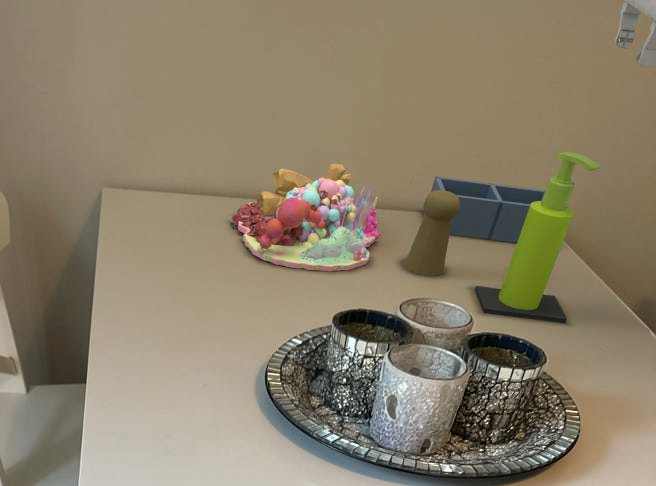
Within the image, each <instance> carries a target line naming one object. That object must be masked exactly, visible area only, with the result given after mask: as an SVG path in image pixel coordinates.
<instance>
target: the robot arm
mask: <svg viewBox="0 0 656 486" xmlns="http://www.w3.org/2000/svg"><path fill="white" fill-rule="evenodd" d="M623 2H624V3H623V5H622V7H621V9H620V17H619V18H620V19H619V26H618V31H617V34H616V37H615V40H614V45H615V46H616V47H618V48H619V49H629V48H631V47H632V46H633V43H634V41H635V37H636V35H637V32H636V28H637V24H638V20H639V17H640V15H642V14H643V16H646V17H647V18H649V19H650V20H651V21H652V22H651V25H650V28H649V32H650V33H649V35H648V36H647V38H646V41H645V42H644V44H643V45H641V46H640V48H639V50H638V55H637V56H636V62H637V64H638V65H640V66H641V67H647V68H651V67H652V66H655V64H656V0H623Z"/></svg>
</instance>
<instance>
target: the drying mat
mask: <svg viewBox="0 0 656 486" xmlns="http://www.w3.org/2000/svg"><path fill="white" fill-rule="evenodd" d="M500 290H501V288H498V287H490V286H481V285H475V287H474V291H475V293H476V296H477V299H478V301H479V304H480V307H481V309H482V312H483V313H485V314H494V315H502V316H510V317H515V318H516V317H517V318H525V319H533V320H541V321H549V322H557V323H565V324H567V320H568V318H567V316H566V314H565V312H564V310H563V308H562V307H561V304H560V302H559V301H558V299H557V298H556V296H555V295H551V294H544V293H543V296H542V298H541V301H540V303H539V306H538V308H536V309H533V310H520V309H516V308H512V307H509V306H507V305H505V304H504V303H502V302H501V301H500V300H499V298H498V296H499V293H500Z"/></svg>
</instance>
